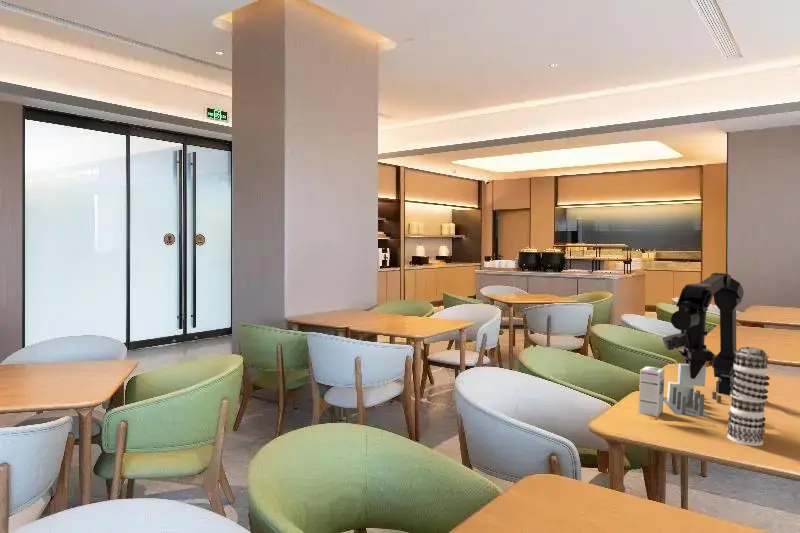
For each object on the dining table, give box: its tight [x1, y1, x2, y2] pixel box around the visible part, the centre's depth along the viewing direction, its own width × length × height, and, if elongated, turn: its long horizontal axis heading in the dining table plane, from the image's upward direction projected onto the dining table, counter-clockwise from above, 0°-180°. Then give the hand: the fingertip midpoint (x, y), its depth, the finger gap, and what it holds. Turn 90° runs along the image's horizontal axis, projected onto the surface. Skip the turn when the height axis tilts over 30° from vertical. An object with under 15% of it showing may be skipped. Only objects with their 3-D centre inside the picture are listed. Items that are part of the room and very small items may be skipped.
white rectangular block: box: [666, 381, 695, 403], centre depth 183 cm, size 7×2×6 cm, turn 79°
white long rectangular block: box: [676, 362, 707, 387], centre depth 172 cm, size 7×2×6 cm, turn 79°
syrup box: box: [637, 366, 666, 421], centre depth 171 cm, size 6×6×14 cm
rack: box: [663, 386, 711, 418], centre depth 178 cm, size 10×18×7 cm, turn 169°
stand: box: [695, 389, 722, 404], centre depth 186 cm, size 8×6×3 cm
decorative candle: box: [726, 346, 771, 447], centre depth 153 cm, size 9×9×25 cm
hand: (691, 377), depth 172 cm, fingers closed on white long rectangular block, 2 cm apart
